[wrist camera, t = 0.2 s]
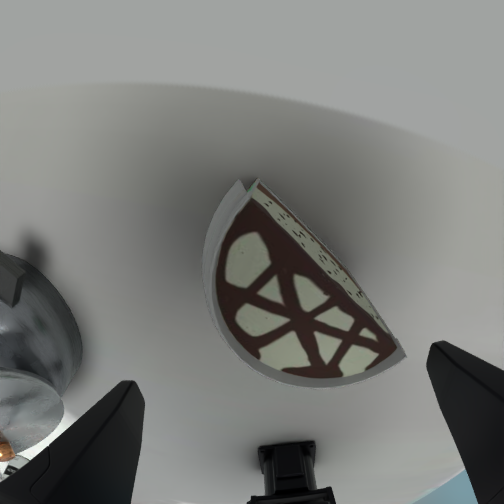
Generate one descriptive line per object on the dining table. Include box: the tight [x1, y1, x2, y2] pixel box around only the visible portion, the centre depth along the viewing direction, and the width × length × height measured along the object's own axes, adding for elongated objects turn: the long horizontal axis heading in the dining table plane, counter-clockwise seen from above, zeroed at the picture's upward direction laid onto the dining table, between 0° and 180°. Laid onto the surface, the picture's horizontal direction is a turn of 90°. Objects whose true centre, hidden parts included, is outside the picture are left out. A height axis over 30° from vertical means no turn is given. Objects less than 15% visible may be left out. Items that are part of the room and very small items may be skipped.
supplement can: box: [0, 456, 29, 482], centre depth 30 cm, size 8×8×15 cm
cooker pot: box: [0, 251, 82, 398], centre depth 22 cm, size 15×21×6 cm
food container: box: [202, 178, 407, 389], centre depth 18 cm, size 12×6×10 cm, turn 46°
